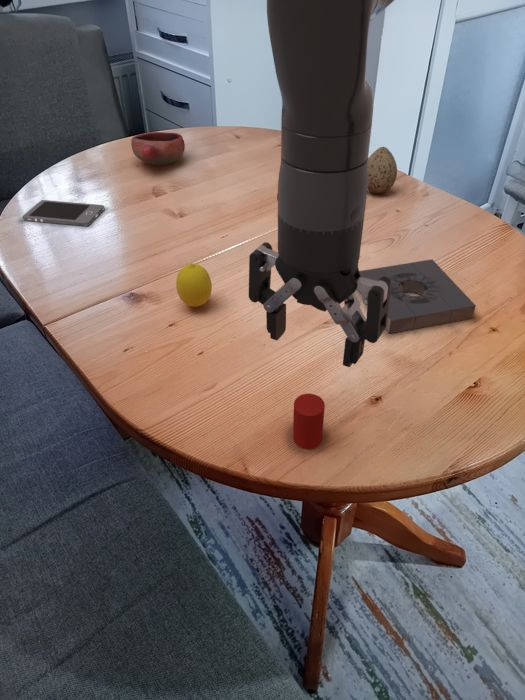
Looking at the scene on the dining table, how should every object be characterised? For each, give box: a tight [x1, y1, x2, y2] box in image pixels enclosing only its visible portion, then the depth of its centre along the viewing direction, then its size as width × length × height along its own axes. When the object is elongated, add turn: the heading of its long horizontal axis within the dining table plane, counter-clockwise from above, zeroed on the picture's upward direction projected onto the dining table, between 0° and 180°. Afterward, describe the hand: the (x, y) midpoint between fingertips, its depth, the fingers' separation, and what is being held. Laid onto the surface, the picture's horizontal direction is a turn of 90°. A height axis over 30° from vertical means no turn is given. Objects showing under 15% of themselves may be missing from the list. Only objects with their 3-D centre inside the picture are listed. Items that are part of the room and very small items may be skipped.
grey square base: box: [359, 258, 477, 335], centre depth 87 cm, size 14×14×2 cm
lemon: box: [175, 263, 213, 308], centre depth 85 cm, size 6×6×8 cm
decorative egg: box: [367, 146, 398, 195], centre depth 115 cm, size 7×7×10 cm
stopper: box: [292, 393, 326, 450], centre depth 64 cm, size 4×4×6 cm
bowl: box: [130, 131, 186, 166], centre depth 129 cm, size 16×13×8 cm
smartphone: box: [21, 199, 105, 227], centre depth 113 cm, size 15×8×1 cm, turn 77°
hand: (312, 348), depth 57 cm, fingers open, 8 cm apart
